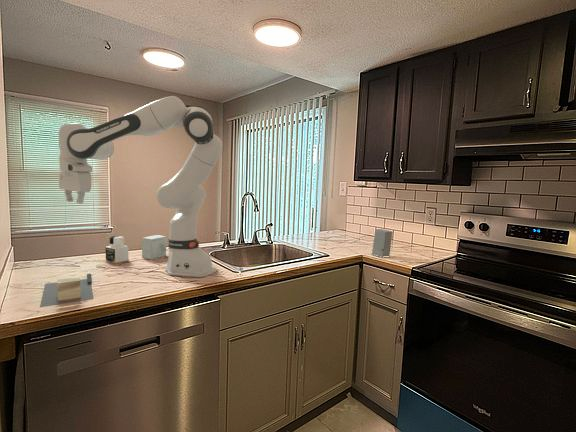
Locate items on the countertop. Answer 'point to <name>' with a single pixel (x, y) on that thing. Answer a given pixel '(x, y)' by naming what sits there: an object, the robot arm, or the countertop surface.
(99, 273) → the countertop surface
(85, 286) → the rubber mat
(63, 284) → the birch cube
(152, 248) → the skincare box
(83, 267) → the spatula
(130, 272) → the countertop surface
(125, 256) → the medicine bottle
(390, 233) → the skincare box
